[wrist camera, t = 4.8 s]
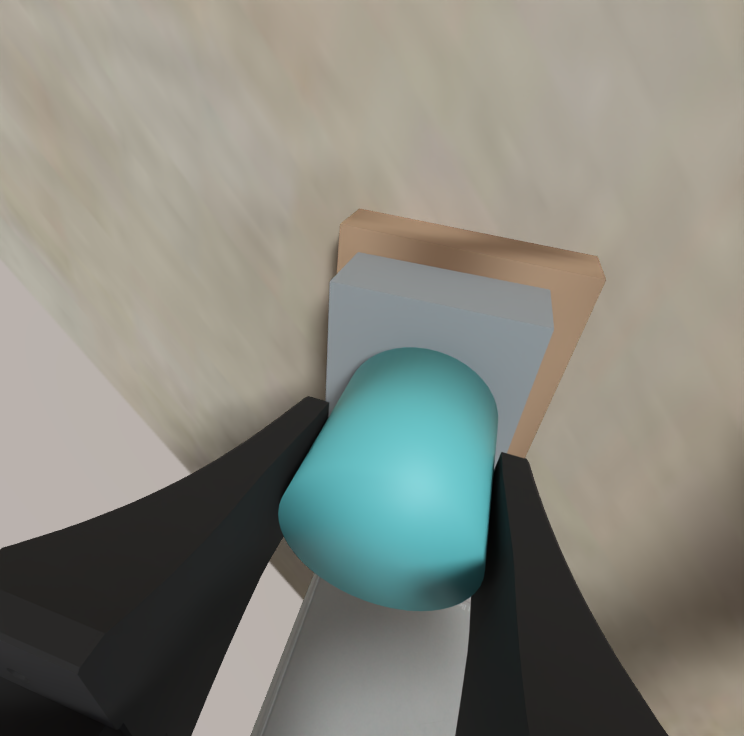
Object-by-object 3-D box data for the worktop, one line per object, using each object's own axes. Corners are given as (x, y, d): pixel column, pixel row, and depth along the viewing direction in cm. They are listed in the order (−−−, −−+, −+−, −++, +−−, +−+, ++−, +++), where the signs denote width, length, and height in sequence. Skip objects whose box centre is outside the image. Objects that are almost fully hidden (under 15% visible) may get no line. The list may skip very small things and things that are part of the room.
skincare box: (331, 532, 26) (152, 949, 14) (361, 458, 22) (142, 966, 10) (462, 591, 26) (399, 1082, 13) (519, 527, 22) (506, 1163, 9)
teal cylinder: (521, 375, 11) (518, 520, 7) (472, 486, 14) (452, 634, 10) (356, 328, 12) (280, 441, 8) (340, 442, 14) (276, 566, 11)
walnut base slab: (595, 251, 14) (606, 279, 12) (520, 428, 19) (519, 469, 17) (363, 204, 16) (340, 223, 14) (347, 380, 20) (327, 413, 18)
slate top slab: (550, 289, 13) (554, 328, 11) (498, 435, 16) (494, 485, 14) (357, 252, 14) (329, 281, 12) (347, 396, 18) (324, 437, 16)
